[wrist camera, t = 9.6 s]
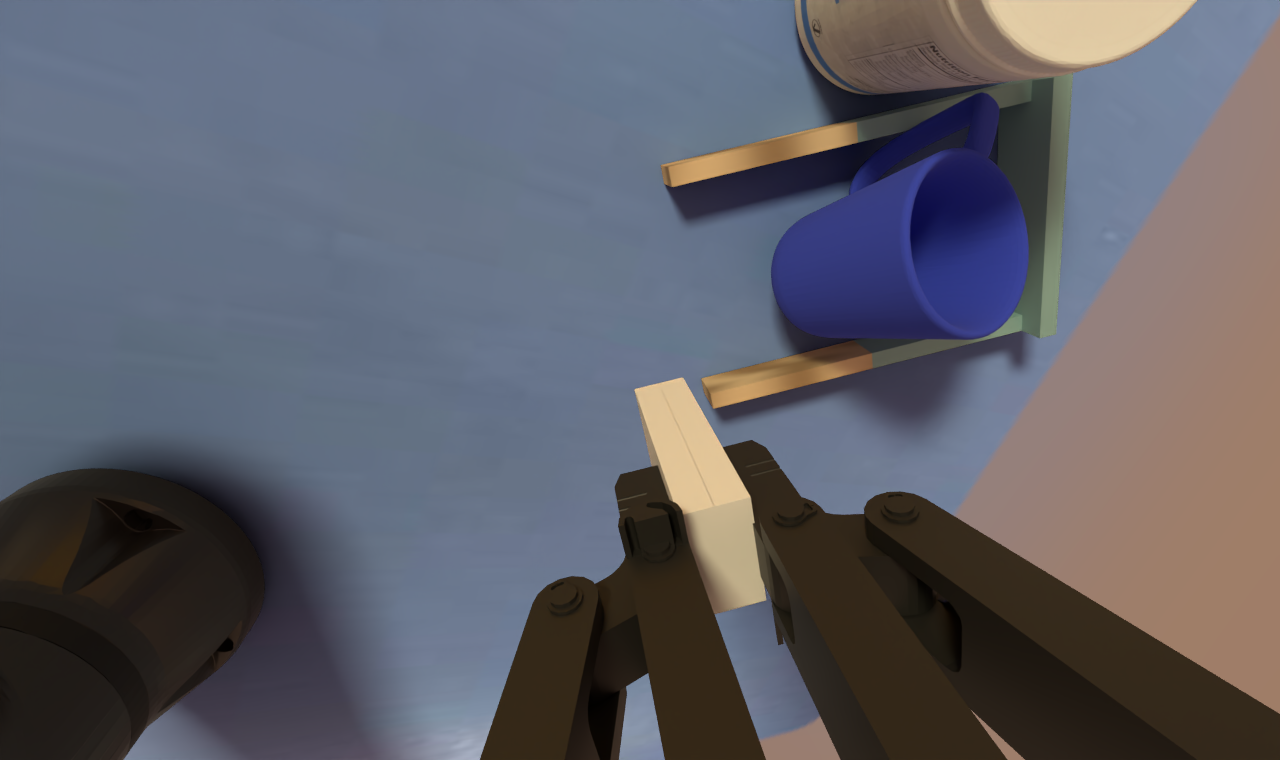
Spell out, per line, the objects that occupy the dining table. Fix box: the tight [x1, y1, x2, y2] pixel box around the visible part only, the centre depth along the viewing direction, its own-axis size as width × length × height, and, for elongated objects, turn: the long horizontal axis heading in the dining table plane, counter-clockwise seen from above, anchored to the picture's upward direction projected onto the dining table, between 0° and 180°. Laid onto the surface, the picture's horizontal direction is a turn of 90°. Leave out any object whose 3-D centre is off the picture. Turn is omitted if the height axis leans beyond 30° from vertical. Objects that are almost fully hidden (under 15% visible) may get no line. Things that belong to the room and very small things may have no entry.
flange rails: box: [661, 122, 873, 409], centre depth 34 cm, size 10×14×2 cm
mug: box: [771, 92, 1029, 340], centre depth 30 cm, size 8×12×10 cm
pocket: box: [840, 73, 1073, 368], centre depth 34 cm, size 10×14×4 cm
